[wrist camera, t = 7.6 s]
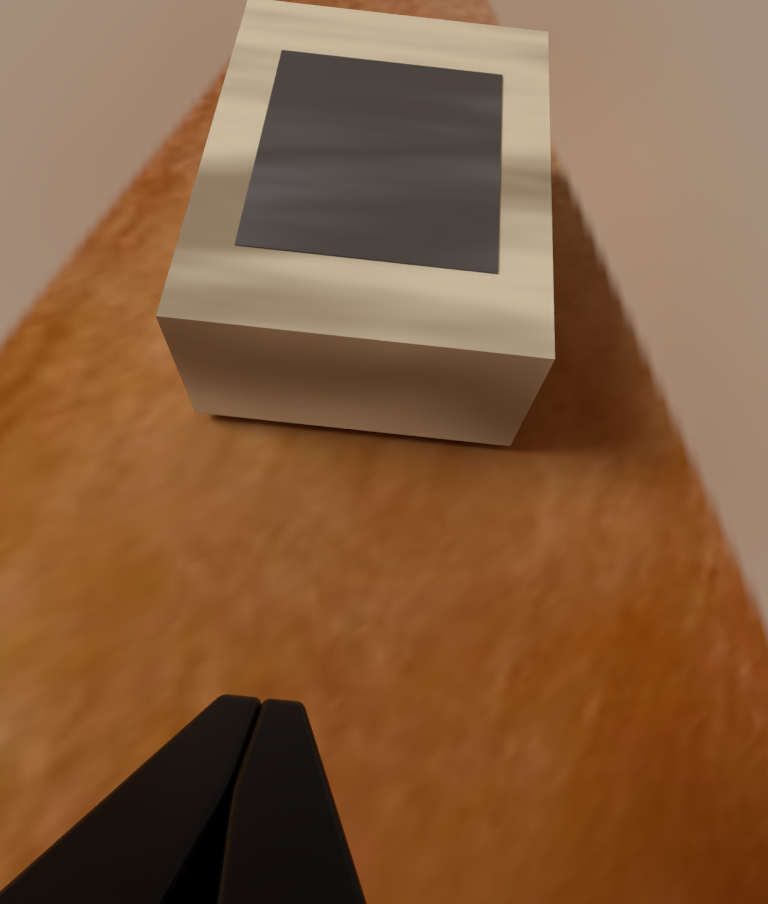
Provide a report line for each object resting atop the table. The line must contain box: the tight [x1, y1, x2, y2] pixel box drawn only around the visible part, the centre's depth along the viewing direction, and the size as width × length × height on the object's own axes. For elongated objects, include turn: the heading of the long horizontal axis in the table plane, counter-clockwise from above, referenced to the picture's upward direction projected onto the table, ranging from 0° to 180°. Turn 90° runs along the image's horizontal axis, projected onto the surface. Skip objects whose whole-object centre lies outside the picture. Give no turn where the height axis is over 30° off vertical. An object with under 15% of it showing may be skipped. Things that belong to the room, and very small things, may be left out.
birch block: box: [156, 0, 555, 446], centre depth 22 cm, size 5×10×13 cm
